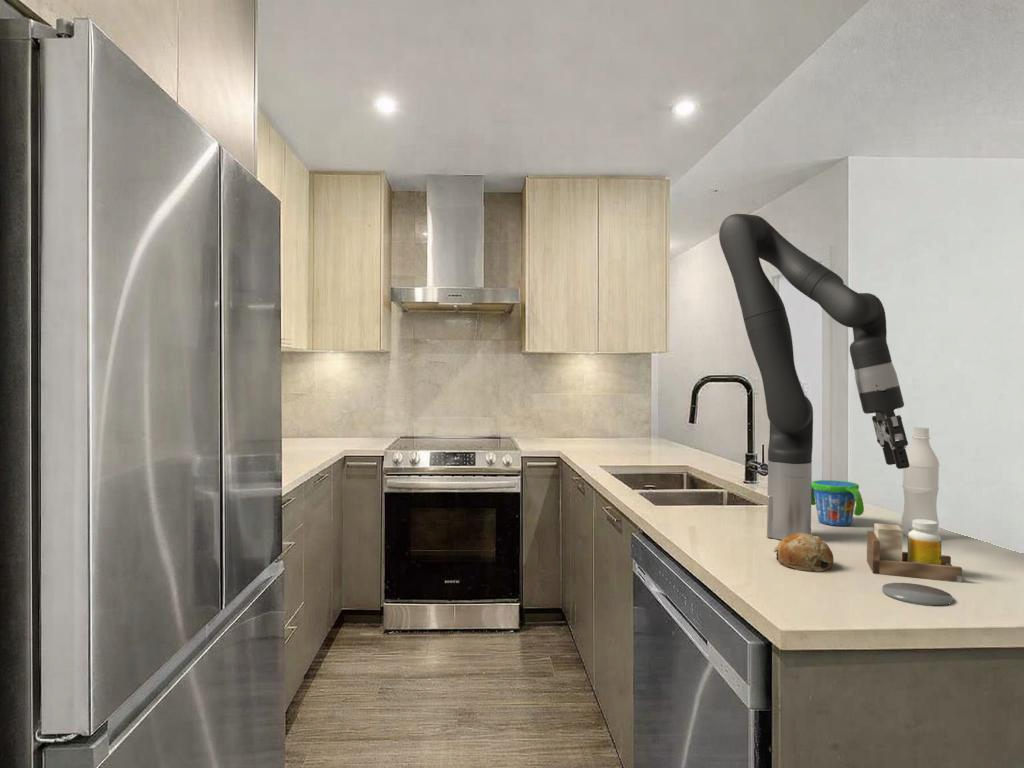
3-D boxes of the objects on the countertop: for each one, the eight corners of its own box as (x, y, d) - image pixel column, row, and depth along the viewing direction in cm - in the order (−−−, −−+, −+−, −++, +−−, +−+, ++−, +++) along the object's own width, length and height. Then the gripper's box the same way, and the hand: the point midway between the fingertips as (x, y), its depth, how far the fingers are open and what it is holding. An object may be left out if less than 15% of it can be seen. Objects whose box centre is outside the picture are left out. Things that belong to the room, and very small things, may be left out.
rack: (873, 573, 124) (873, 530, 124) (866, 560, 132) (867, 520, 132) (961, 582, 119) (962, 537, 119) (949, 568, 127) (949, 527, 127)
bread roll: (798, 591, 124) (815, 557, 121) (759, 556, 133) (774, 523, 130) (833, 584, 129) (850, 551, 126) (794, 550, 137) (808, 518, 134)
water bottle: (943, 541, 148) (945, 429, 148) (908, 539, 150) (910, 428, 150) (930, 534, 156) (932, 427, 155) (896, 532, 157) (898, 426, 157)
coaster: (887, 601, 108) (887, 597, 108) (878, 583, 118) (878, 580, 118) (959, 609, 105) (959, 605, 105) (944, 590, 114) (944, 586, 114)
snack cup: (796, 517, 173) (796, 478, 173) (831, 516, 175) (831, 477, 175) (837, 531, 158) (838, 488, 157) (876, 529, 160) (876, 487, 160)
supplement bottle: (903, 567, 128) (903, 517, 128) (934, 569, 127) (934, 519, 127) (913, 575, 123) (914, 523, 123) (946, 577, 122) (946, 525, 121)
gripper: (852, 392, 144) (870, 466, 143) (865, 391, 131) (885, 472, 129) (890, 384, 142) (909, 460, 140) (907, 382, 128) (929, 466, 127)
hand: (897, 466), depth 135 cm, fingers open, 8 cm apart
